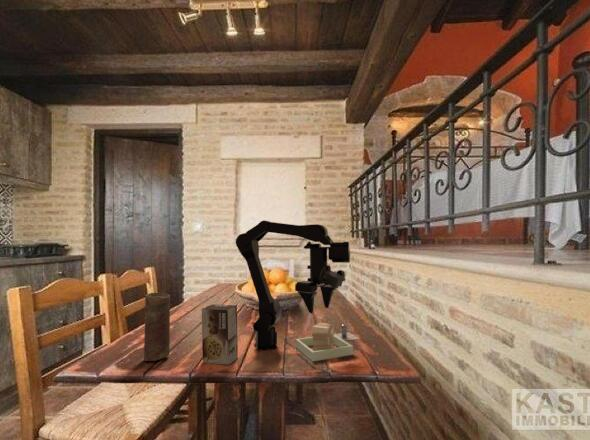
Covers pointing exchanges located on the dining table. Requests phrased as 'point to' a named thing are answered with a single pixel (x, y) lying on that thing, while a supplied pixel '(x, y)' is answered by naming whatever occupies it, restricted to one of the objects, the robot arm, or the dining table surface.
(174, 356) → the dining table surface
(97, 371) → the dining table surface
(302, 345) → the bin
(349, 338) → the stud block
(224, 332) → the coffee box
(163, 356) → the candle
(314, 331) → the tan rectangular block
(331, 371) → the dining table surface
